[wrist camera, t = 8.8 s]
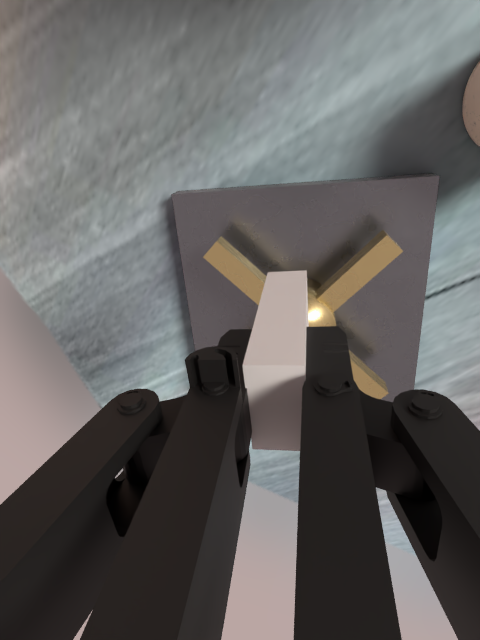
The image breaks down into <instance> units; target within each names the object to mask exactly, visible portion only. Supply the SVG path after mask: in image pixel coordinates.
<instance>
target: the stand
mask: <svg viewBox="0 0 480 640" xmlns="http://www.w3.org/2000/svg"><path fill="white" fill-rule="evenodd" d="M439 177H440V176H438V175H436V174H433V173H429V174H415V175H401V176H387V177H372V178H358V179H344V180H330V181H315V182H301V183H287V184H273V185H258V186H244V187H230V188H216V189H201V190H187V191H177V192H175V193H173V194H171V195H172V202H173V208H174V215H175V221H176V228H177V235H178V241H179V248H180V254H181V261H182V268H183V274H184V281H185V287H186V294H187V301H188V307H189V314H190V320H191V327H192V334H193V340H194V347H195V351H196V350H199V349H202V348H205V347H213V346H217V345H218V343H219V341H220V338H221V337H222V336H223V335H224V334H225V333H226V332H228V331H229V330H230V329H252V328H253V325H254V321H255V317H256V314H257V310H258V306H259V305H257V304H256V303H255V302H254V301H253V300H252V299H250V298H249V297H248V296H247V295H246V294H245V293H244V292H242V291H241V290H240V289H239V288H238V287H237V286H236V285H234V284H233V283H232V282H231V281H230V280H229V279H227V278H226V277H225V276H224V275H223V274H222V273H221V272H219V271H218V270H217V269H216V268H215V267H214V266H212V265H211V264H210V263H209V262H208V261H207V260H206V259H204V258H203V257H204V255H205V254H206V253H207V252H208V250H209V249H210V248H211V247H212V246H213V244H214V243H215V242H216V241H217V240H218V239H219V238H220V236H222V237H223V238H224V239H225V240H226V241H228V242H229V243H230V244H231V245H232V246H233V247H234V248H235V249H237V250H238V251H239V252H240V253H241V254H242V255H243V256H244V257H246V258H247V259H248V260H249V261H250V262H251V263H252V264H253V265H255V266H256V267H257V268H258V269H259V270H260V271H261V272H262V273H264V274H265V275H266V276H267V273H268V272H282V271H304V270H307V278H309V279H312V280H315V281H317V282H319V283H320V284H322V285H323V284H324V283H325V282H326V281H328V280H329V279H330V278H331V277H332V276H333V275H334V274H335V273H336V272H337V271H338V270H339V269H341V268H342V267H343V266H344V265H345V264H346V263H347V262H348V261H349V260H350V259H351V258H352V257H354V256H355V255H356V254H357V253H358V252H359V251H360V250H361V249H362V248H363V247H364V246H365V245H367V244H368V243H369V242H370V241H371V240H372V239H373V238H374V237H375V236H376V235H377V234H378V233H379V232H381V231H382V230H384V231H385V232H386V233H387V234H388V235H389V236H390V237H391V238H392V239H393V240H394V241H395V242H396V243H397V244H398V245H399V246H400V248H401V249H402V250H403V252H402V253H401V254H400V255H399V256H397V257H396V258H395V259H394V260H393V261H392V262H391V263H389V264H388V265H387V266H386V267H385V268H384V269H383V270H381V271H380V272H379V273H378V274H377V275H376V276H374V277H373V278H372V279H371V280H370V281H369V282H368V283H366V284H365V285H364V286H363V287H362V288H361V289H360V290H358V291H357V292H356V293H355V294H354V295H353V296H352V297H350V298H349V299H348V300H347V301H346V302H345V303H344V304H342V305H341V306H340V307H339V308H338V309H337V310H335V311H334V314H335V321H336V326H339V327H340V328H341V329H342V330H343V331H344V332H345V333H346V336H347V342H348V348H349V350H350V351H351V352H352V353H353V354H354V355H356V356H357V357H358V358H359V359H360V360H361V361H362V362H363V363H365V364H366V365H367V366H368V367H369V368H370V369H371V370H372V371H374V372H375V373H376V374H377V375H378V376H379V377H380V378H381V379H383V380H384V381H385V383H386V386H387V389H388V393H389V394H387V395H386V396H384V397H383V398H382V399H381V400H385V401H389V402H393V401H394V398H395V397H396V396H397V395H399V394H400V393H401V392H405V391H408V390H414V384H415V375H416V367H417V359H418V350H419V342H420V334H421V326H422V317H423V309H424V301H425V292H426V284H427V276H428V268H429V259H430V251H431V243H432V235H433V226H434V218H435V210H436V201H437V193H438V185H439Z"/></svg>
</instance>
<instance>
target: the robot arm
mask: <svg viewBox="0 0 480 640" xmlns="http://www.w3.org/2000/svg"><path fill="white" fill-rule="evenodd" d="M185 363H186V368H187V373H188V379H189V384H190V389H189V391H188V393H187V395H185V396H183V397H179V398H175V399H170V400H165V401H160V402H159V398H158V396H157V394H156V393H155V392H154V391H151V390H148V389H134V390H129V391H126V392H124V393H122V394H119V395H118V396H116V397H115V398H114V399H112V400H111V401H110V402H109V403H108V404H107V405H105V406H104V407H103V408H102V409H101V410H100V411H99V412H98V413H97V414H96V415H95V416H94V417H93V418H92V419H91V420H90V421H89V422H88V423H87V424H85V425H84V426H83V427H82V428H81V429H80V430H79V431H78V432H77V433H76V434H75V435H74V436H73V437H72V438H71V439H70V440H69V441H67V443H65V444H64V445H63V446H62V447H61V448H60V449H59V450H58V451H57V452H56V453H55V454H54V455H53V456H52V457H51V458H49V459H48V460H47V461H46V462H45V463H44V464H43V465H42V466H41V467H40V468H39V469H38V470H37V471H36V472H35V473H34V474H33V475H31V476H30V477H29V478H28V479H27V480H26V481H25V482H24V483H23V484H22V485H21V486H20V487H19V488H18V489H17V490H16V491H15V492H14V493H12V494H11V495H10V496H9V497H8V498H7V499H6V500H5V501H4V502H3V503H2V504H1V505H0V640H73V639H74V637H75V636H76V634H77V633H78V631H79V630H80V628H81V627H82V625H83V624H84V622H85V620H86V619H87V617H88V616H89V614H90V613H91V611H92V610H93V611H92V613H91V616H90V618H89V620H88V622H87V625H86V627H85V629H84V631H83V634H82V636H81V638H80V640H221V636H222V630H223V624H224V619H225V613H226V607H227V601H228V595H229V588H230V583H231V577H232V571H233V565H234V559H235V553H236V547H237V541H238V535H239V529H240V523H241V518H242V511H243V506H244V499H245V494H246V487H247V482H248V476H249V470H250V455H249V445H250V440H252V448H253V449H265V450H292V451H300V471H299V501H298V531H297V560H296V589H295V618H294V640H401V633H400V628H399V623H398V616H397V610H396V604H395V599H394V593H393V587H392V581H391V575H390V569H389V564H388V557H387V552H386V546H385V540H384V534H383V528H382V522H381V517H380V511H379V505H378V499H377V493H376V487H377V488H380V489H383V490H386V492H387V496H388V499H389V501H390V503H391V505H392V507H393V509H394V511H395V513H396V515H397V517H398V519H399V521H400V523H401V525H402V527H403V529H404V531H405V533H406V535H407V537H408V539H409V541H410V543H411V545H412V547H413V549H414V551H415V553H416V555H417V557H418V559H419V561H420V563H421V565H422V567H423V569H424V571H425V573H426V575H427V577H428V579H429V581H430V583H431V585H432V587H433V589H434V591H435V593H436V595H437V597H438V599H439V601H440V604H441V605H442V608H443V610H444V612H445V613H446V616H447V618H448V620H449V622H450V624H451V626H452V628H453V630H454V632H455V634H456V636H457V638H458V640H480V431H479V430H478V429H477V428H476V426H475V425H474V424H473V423H472V422H471V421H470V420H469V419H468V418H467V416H466V415H465V414H464V413H463V412H462V411H461V410H460V409H459V408H458V407H457V405H456V404H455V403H453V402H452V401H451V400H450V399H448V398H447V397H445V396H443V395H441V394H438V393H436V392H432V391H427V390H408V391H405V392H401V393H400V394H399V395H397V396H396V397H395V398H394V401H393V402H389V401H385V400H381V399H377V398H374V397H371V396H369V395H367V394H365V393H364V392H362V391H361V390H360V389H359V388H358V386H357V384H356V382H355V381H354V379H353V373H352V366H351V360H350V354H349V348H348V342H347V336H346V333H345V332H344V331H343V330H342V329H341V328H340V327H339V326H320V327H309V323H308V293H307V270H304V271H282V272H268V273H267V277H266V280H265V284H264V288H263V292H262V295H261V299H260V303H259V306H258V310H257V314H256V317H255V321H254V325H253V328H252V329H230V330H229V331H228V332H226V333H225V334H224V335H223V336H222V337H221V338H220V341H219V343H218V345H217V346H213V347H205V348H202V349H199V350H196V351H195V352H193V353H191V354H190V355H189V356H188V357H187V358H186V359H185ZM122 468H123V472H122V473H121V474H120V475H119V476H118V477H117V478H115V476H116V475H117V474H118V473H119V472H120V470H121V469H122Z"/></svg>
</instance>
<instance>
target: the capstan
mask: <svg viewBox="0 0 480 640" xmlns="http://www.w3.org/2000/svg"><path fill="white" fill-rule="evenodd" d="M402 252H403V250H402V249H401V248H400V246H399V245H398V244H397V243H396V242H395V241H394V240H393V239H392V238H391V237H390V236H389V235H388V234H387V233H386V232H385V231H384V230H382V231H381V232H379V233H378V234H377V235H376V236H375V237H374V238H373V239H372V240H371V241H370V242H369V243H368V244H367V245H365V246H364V247H363V248H362V249H361V250H360V251H359V252H358V253H357V254H356V255H355V256H354V257H352V258H351V259H350V260H349V261H348V262H347V263H346V264H345V265H344V266H343V267H342V268H341V269H339V270H338V271H337V272H336V273H335V274H334V275H333V276H332V277H331V278H330V279H329V280H328V281H326V282H325V283H324V284H323V285H322V284H320V283H319V282H317V281H315V280H312V279H309V278H307V293H308V323H309V327H320V326H336V321H335V314H334V311H335V310H337V309H338V308H339V307H340V306H341V305H342V304H344V303H345V302H346V301H347V300H348V299H349V298H350V297H352V296H353V295H354V294H355V293H356V292H357V291H358V290H360V289H361V288H362V287H363V286H364V285H365V284H366V283H368V282H369V281H370V280H371V279H372V278H373V277H374V276H376V275H377V274H378V273H379V272H380V271H381V270H383V269H384V268H385V267H386V266H387V265H388V264H389V263H391V262H392V261H393V260H394V259H395V258H396V257H397V256H399V255H400V254H401V253H402ZM203 258H204V259H206V260H207V261H208V262H209V263H210V264H211V265H212V266H214V267H215V268H216V269H217V270H218V271H219V272H221V273H222V274H223V275H224V276H225V277H226V278H227V279H229V280H230V281H231V282H232V283H233V284H234V285H236V286H237V287H238V288H239V289H240V290H241V291H242V292H244V293H245V294H246V295H247V296H248V297H249V298H250V299H252V300H253V301H254V302H255V303H256V304H257V305H259V303H260V299H261V295H262V292H263V288H264V284H265V280H266V277H267V276H266V275H265V274H264V273H262V272H261V271H260V270H259V269H258V268H257V267H256V266H255V265H253V264H252V263H251V262H250V261H249V260H248V259H247V258H246V257H244V256H243V255H242V254H241V253H240V252H239V251H238V250H237V249H235V248H234V247H233V246H232V245H231V244H230V243H229V242H228V241H226V240H225V239H224V238H223V237H222V236H220V238H219V239H218V240H217V241H216V242H215V243H214V244H213V246H212V247H211V248H210V249H209V250H208V252H207V253H206V254H205V255H204V257H203ZM349 354H350V360H351V366H352V373H353V379H354V381H355V382H356V384H357V386H358V388H359V389H360V390H361V391H362V392H364V393H365V394H367V395H369V396H371V397H374V398H377V399H382V398H383V397H384V396H386V395H387V394H389V393H388V389H387V386H386V383H385V381H384V380H383V379H381V378H380V377H379V376H378V375H377V374H376V373H375V372H374V371H372V370H371V369H370V368H369V367H368V366H367V365H366V364H365V363H363V362H362V361H361V360H360V359H359V358H358V357H357V356H356V355H354V354H353V353H352V352H351V351H350V350H349Z"/></svg>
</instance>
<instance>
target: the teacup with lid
mask: <svg viewBox="0 0 480 640" xmlns="http://www.w3.org/2000/svg"><path fill="white" fill-rule="evenodd" d="M462 109H463V120H464V124H465V127H466V130H467V132H468V134H469V135H470V137H471V139H472V140H473V141H474V142H475V143H476V144H477V145H478V146H479V147H480V61H479V62H478V64H477V65H476V67H475V68H474V70H473V72H472V74H471V76H470V78H469V80H468V83H467V86H466V89H465V92H464V97H463V106H462Z"/></svg>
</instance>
